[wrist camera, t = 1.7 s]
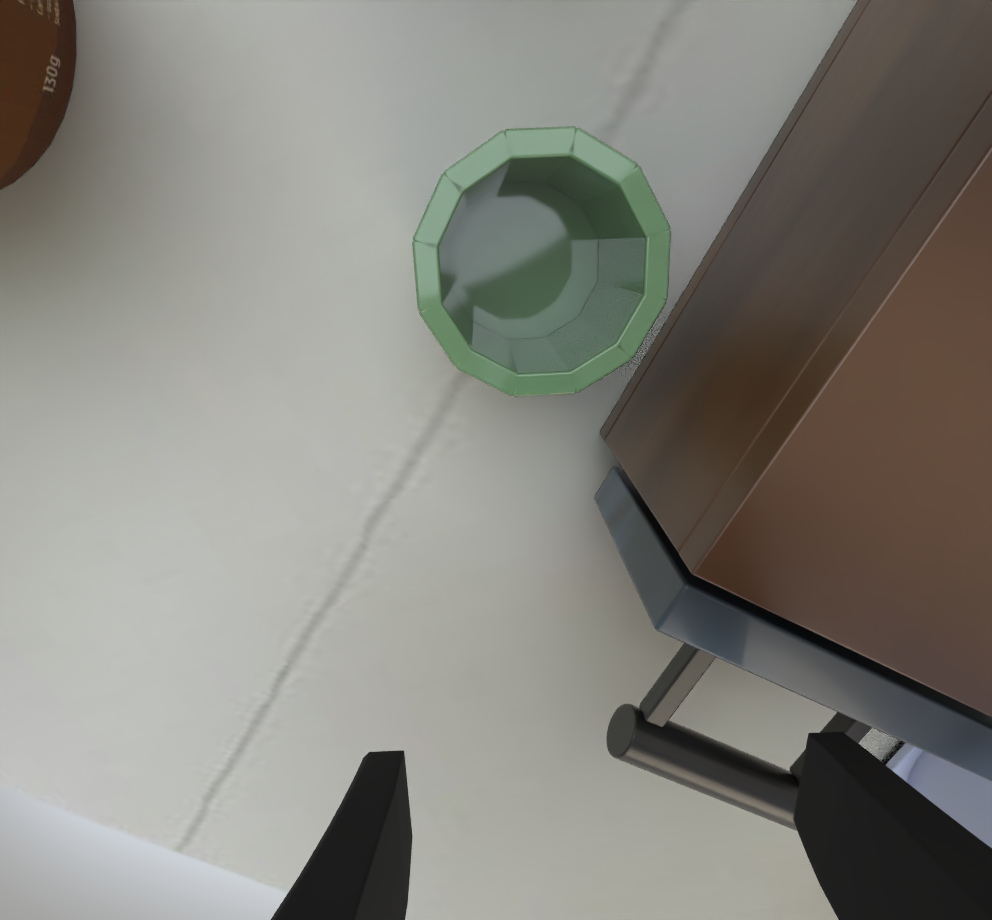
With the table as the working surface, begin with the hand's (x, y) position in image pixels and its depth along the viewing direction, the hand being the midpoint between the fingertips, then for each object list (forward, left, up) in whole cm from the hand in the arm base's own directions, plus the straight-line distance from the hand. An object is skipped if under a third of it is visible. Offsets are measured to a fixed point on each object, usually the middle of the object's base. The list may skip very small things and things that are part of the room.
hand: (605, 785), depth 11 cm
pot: (+5, -7, -10) cm, 13 cm away
